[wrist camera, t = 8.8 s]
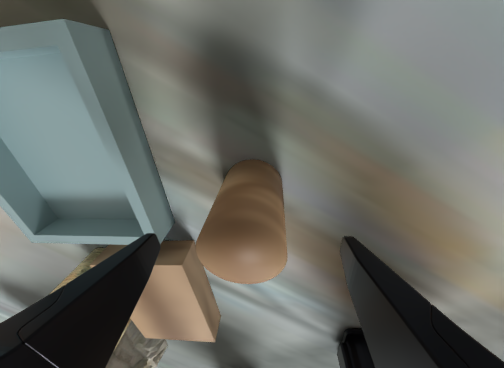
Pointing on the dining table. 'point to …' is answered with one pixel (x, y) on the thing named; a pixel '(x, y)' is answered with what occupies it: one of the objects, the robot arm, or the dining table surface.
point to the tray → (74, 140)
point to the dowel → (246, 226)
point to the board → (174, 295)
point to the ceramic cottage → (137, 350)
